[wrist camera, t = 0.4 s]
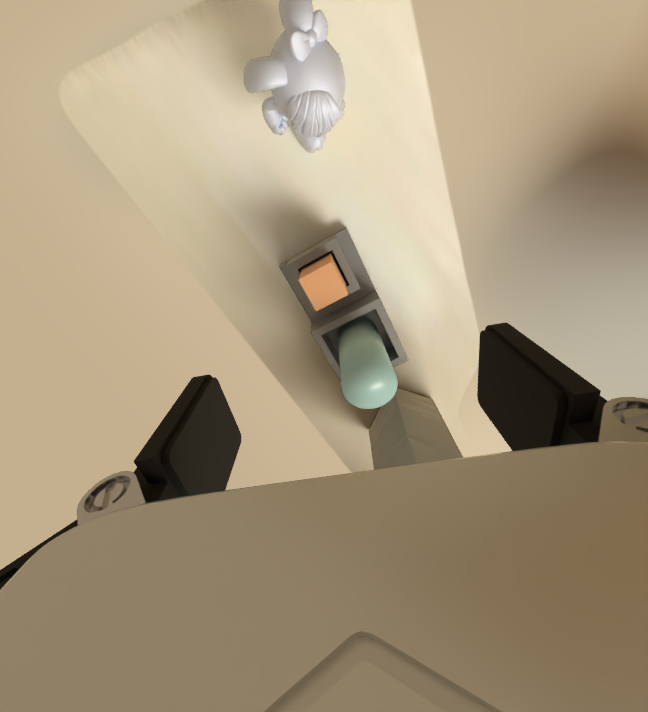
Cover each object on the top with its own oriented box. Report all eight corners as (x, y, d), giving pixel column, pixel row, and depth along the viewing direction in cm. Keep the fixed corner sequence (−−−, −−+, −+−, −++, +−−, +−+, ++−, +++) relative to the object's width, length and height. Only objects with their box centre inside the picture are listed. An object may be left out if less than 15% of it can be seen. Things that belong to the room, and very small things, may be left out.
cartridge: (385, 343, 37) (406, 395, 27) (348, 360, 38) (356, 416, 28) (368, 309, 35) (384, 352, 25) (330, 327, 36) (331, 376, 26)
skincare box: (407, 441, 45) (444, 552, 31) (362, 428, 44) (378, 536, 30) (435, 395, 41) (492, 497, 27) (387, 380, 40) (419, 477, 26)
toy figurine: (315, 173, 30) (309, 158, 19) (260, 122, 28) (219, 74, 17) (363, 103, 27) (386, 40, 17) (305, 43, 26) (290, -71, 15)
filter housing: (400, 345, 38) (408, 360, 34) (342, 371, 40) (344, 388, 36) (345, 227, 32) (348, 230, 28) (280, 264, 34) (274, 272, 30)
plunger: (345, 281, 32) (348, 294, 27) (317, 296, 32) (316, 311, 28) (330, 252, 30) (331, 261, 26) (302, 268, 31) (298, 279, 27)
